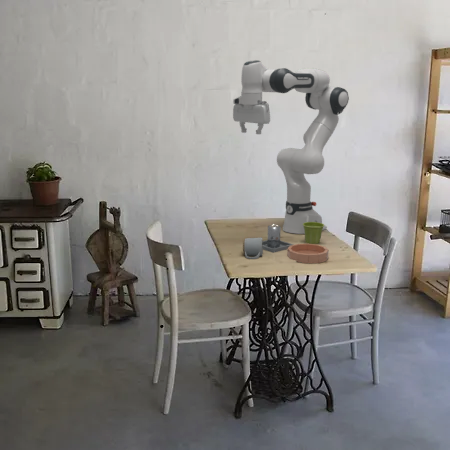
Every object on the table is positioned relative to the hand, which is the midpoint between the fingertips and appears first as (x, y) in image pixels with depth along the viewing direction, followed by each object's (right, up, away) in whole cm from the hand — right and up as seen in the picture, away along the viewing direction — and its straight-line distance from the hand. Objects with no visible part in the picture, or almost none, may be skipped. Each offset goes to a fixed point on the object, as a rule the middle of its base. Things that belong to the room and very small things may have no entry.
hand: (251, 133), depth 245 cm
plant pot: (+28, -48, +9) cm, 56 cm away
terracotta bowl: (+23, -52, -11) cm, 58 cm away
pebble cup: (+10, -49, +1) cm, 50 cm away
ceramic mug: (+1, -52, -11) cm, 54 cm away
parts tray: (+10, -49, +1) cm, 50 cm away
